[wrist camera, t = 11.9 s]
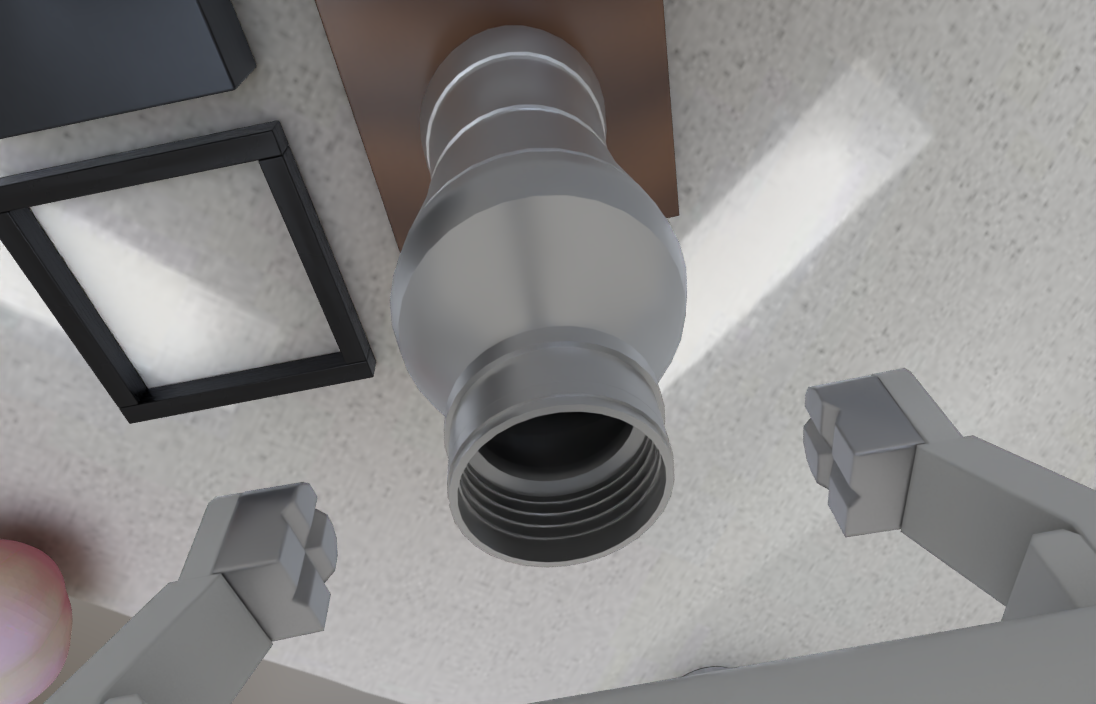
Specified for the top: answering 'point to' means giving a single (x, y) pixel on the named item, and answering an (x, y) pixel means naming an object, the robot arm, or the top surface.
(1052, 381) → the top surface
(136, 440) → the top surface
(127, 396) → the black flat square frame
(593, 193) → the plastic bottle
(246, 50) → the panel
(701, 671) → the house plant
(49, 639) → the decorative fruit
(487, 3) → the trivet
